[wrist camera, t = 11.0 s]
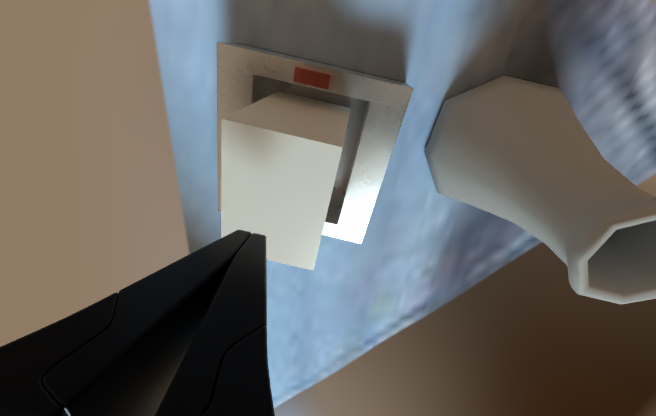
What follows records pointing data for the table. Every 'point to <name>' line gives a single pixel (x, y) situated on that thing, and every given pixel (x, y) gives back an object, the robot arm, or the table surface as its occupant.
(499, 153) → the flask
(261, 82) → the socket
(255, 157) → the plug
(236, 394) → the robot arm
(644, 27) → the table surface
